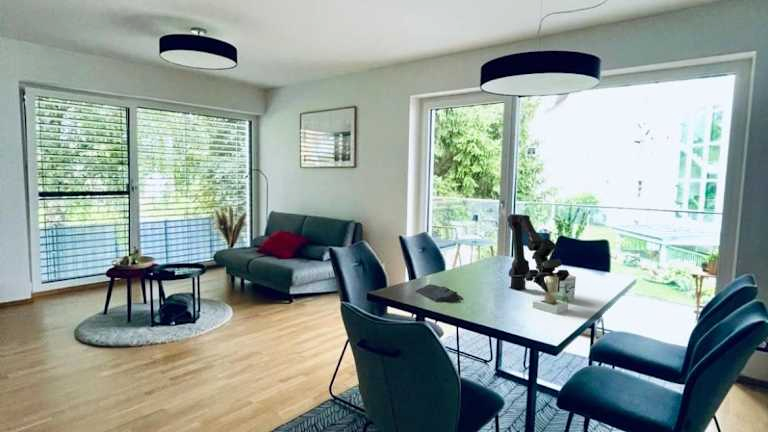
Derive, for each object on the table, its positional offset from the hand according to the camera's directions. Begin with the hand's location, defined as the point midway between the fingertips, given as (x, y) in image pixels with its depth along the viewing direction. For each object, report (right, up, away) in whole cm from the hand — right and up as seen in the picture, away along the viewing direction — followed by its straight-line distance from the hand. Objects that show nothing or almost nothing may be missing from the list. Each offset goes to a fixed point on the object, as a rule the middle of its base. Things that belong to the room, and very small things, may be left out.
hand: (552, 291), depth 188 cm
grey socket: (0, -8, +2) cm, 8 cm away
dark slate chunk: (-48, -5, +17) cm, 52 cm away
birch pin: (0, -6, +2) cm, 7 cm away
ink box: (+12, -7, +17) cm, 22 cm away
